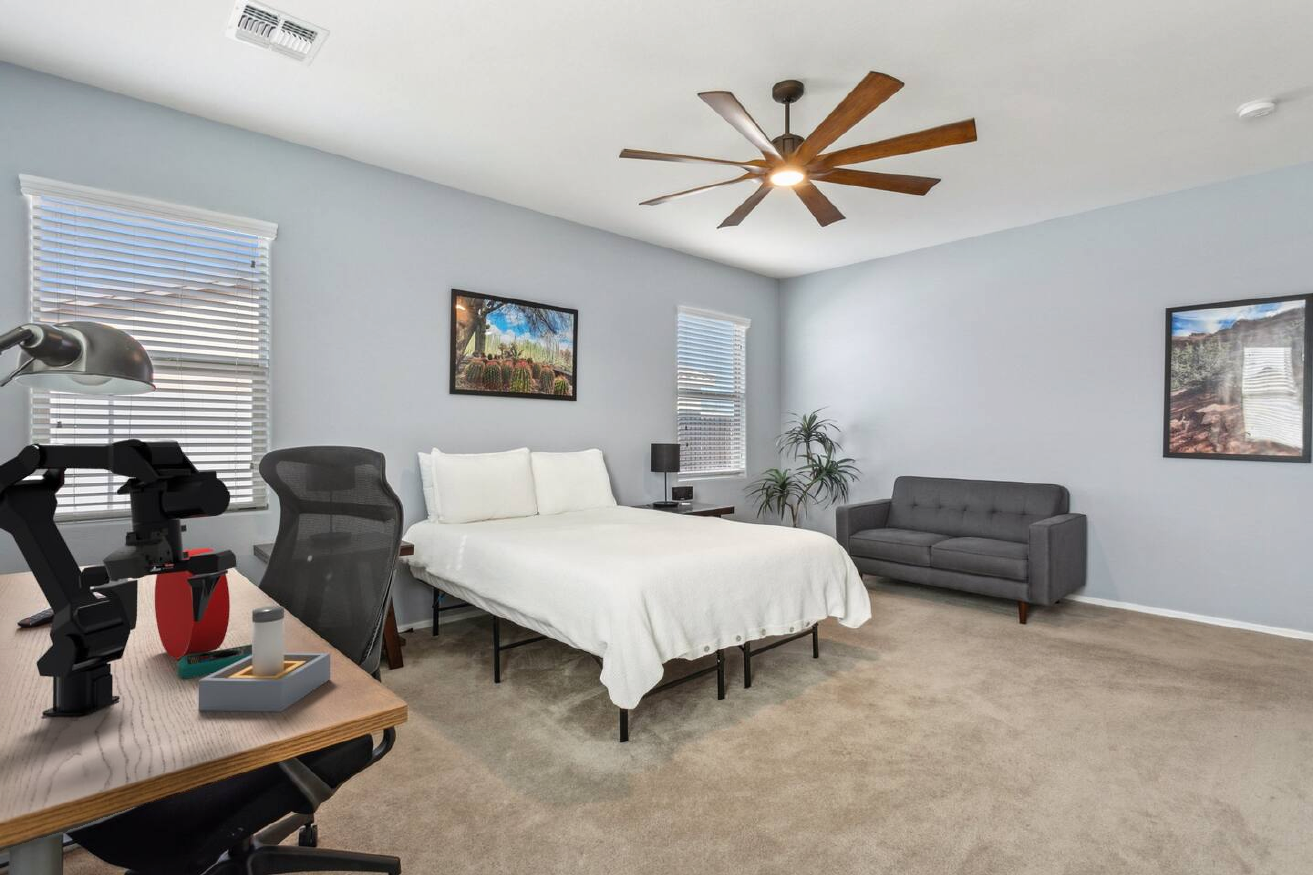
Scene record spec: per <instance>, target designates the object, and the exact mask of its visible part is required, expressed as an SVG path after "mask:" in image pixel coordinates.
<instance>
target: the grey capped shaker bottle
mask: <svg viewBox="0 0 1313 875" xmlns="http://www.w3.org/2000/svg"><path fill="white" fill-rule="evenodd" d="M251 612H252V617H251V618H252V620H251V621H252V622H251V624H252V626H251V627H252V629H251V632H252V634H251V644H252V676H275V675H277V674H278V673H280V672H282V671H284V653H285V607H284V606H281V605H269V606H262V607H258V608H255V609H253V610H252V611H251Z"/></svg>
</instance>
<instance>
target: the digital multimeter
mask: <svg viewBox="0 0 1313 875" xmlns="http://www.w3.org/2000/svg"><path fill="white" fill-rule="evenodd" d="M250 655H252V643H251V644H246V645H241V646H236V647H230V648H223V649H218V650H217V649H216V650H214V651H209V652H204V653H198V654H191V655H185V656H184V657H183V658H179V660H178V662H177V676H178V677H180V678H181V679H183V680H186V679H190V678H191V679H192V678H196V677H202V676H206V675H207V676H209V675H211V674H213V673H215V672H217V671H219V670H221V669H223V668H225V667H227V666H229V665H231V664H233V663H236V662H238V661H240V660H242V659H244V658H246V657H248V656H250Z"/></svg>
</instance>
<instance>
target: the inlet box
mask: <svg viewBox="0 0 1313 875" xmlns="http://www.w3.org/2000/svg"><path fill="white" fill-rule="evenodd" d="M328 680H329V681H331V653H330V652H328V653H327V652H323V653H322V652H284V671H282V672H280V673H278V674H277V675H275V676H252V655H250V656H248V657H246V658H244V659H242V660H240V661H238V662H236V663H233V664H231V665H229V666H227V667H225V668H223V669H221V670H219V671H217V672H215V673H213V674H208V675H207V676H204V677H203V678H201V679H199V680H198V708H197V709H198V711H227V712H228V711H230V712H233V711H234V712H238V711H239V712H280V713H281V712H284V711H285V710H286V709H288V708H289V707H291V706H293V705H294V704H296V703H297V702H298V701H300V700H302V699H303V698H305V697H306V696H307V695H306V694H308V693H309V694H310V692H311V691H312V690H314V689H315V688H317V687H318V686H320V685H321V684H322V683H324V684H325V682H326V681H328ZM329 681H328V682H329ZM326 683H327V682H326ZM321 686H322V685H321ZM321 686H320V687H321ZM318 688H319V687H318ZM318 688H317V689H318ZM315 690H316V689H315ZM315 690H314V691H315ZM312 692H313V691H312ZM312 692H311V693H312ZM309 694H308V695H309ZM305 695H306V696H305ZM304 696H305V697H304ZM302 697H303V698H302ZM301 698H302V699H301ZM292 704H293V705H292Z"/></svg>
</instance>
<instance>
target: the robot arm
mask: <svg viewBox="0 0 1313 875" xmlns="http://www.w3.org/2000/svg"><path fill="white" fill-rule="evenodd" d="M67 469H72V470H74V469H75V470H78V469H79V470H105V471H110V472H111V474H114V475H119V476H121V477H122V476H123V477H126V478H128V479H127V480H126V482H125V483H124V484H122V485H121V486H120V487H119V488H118V489H117V490H116V493H117V495H119V496H120V495H129V500H130V511H131V512H130V513H131V514H130V515H131V524H132V530H131V531H128V532H126V535H125V543H124V545H122V546H121V547H119V548H117V549H115V550H114V551H113V552H111V553H110V554H108V555H107V556H105V557H104V559H103V560H102V561H103V563H100V564H96V565H92V566H88V567H87V566H86V567H84V568H83V569H81V568H80V566H79V565H78V563H77V560H76V559H75V557H74V555H73V554H72V553H73V552H71V549H70V548H69V547H68V544H67V543H66V541H65V539H64V536H62V534H61V531H60V530H59V528H58V526H57V524H56V523H55V520H54V518H55V514H56V511H57V507H58V504H59V503H58V498H57V496H56V494H57V493H58V491H60V489H61V488H62V487H63V486H64V485H65V484H66V482H65V481H66V480H65V475H66V474H65V472H66V471H67ZM38 470H46V471H45V472H44V473H43V474H42V475H38V474H34V473H35V472H36V471H38ZM217 473H218V472H217V471H216V470H206V471H199V469H198V468H197V466H195V465H194V464H193V462H192V461H191V460H190V459H189V457H188V456H187V455H186V453H184V451H183V449H182V447H181V446H180V445H179V442H178V441H177V440H176V439H171V438H130V439H129V438H128V439H124V440H120V441H119V440H118V441H114V442H112V443H110V444H106V445H105V444H104V445H103V444H102V445H100V444H99V445H98V444H97V445H96V444H95V445H94V444H93V445H92V444H90V445H89V444H87V445H86V444H85V445H84V444H80V445H79V444H78V445H77V444H65V443H60V442H59V443H58V442H57V443H49V442H48V443H38V442H35V443H32V444H30V445H26V446H25V447H24V448H22V450H21V451H20V452H19V453H18V454H17V456H15V457H13V458H11V459H9V460H8V461H6V462H4V463H3V464H1V465H0V529H1V530H3V531H5V532H7V533H8V534H10V535H11V537H13V540H14V542H15V543H16V545H17V547H18V549H19V550H20V551H19V552H20V553H21V554H22V557H23V558H24V560H25V561H26V564H27V565H28V568H29V569H30V571H31V573H32V575H33V577H34V579H35V581H36V583H37V584H38V586H39V588H40V590H41V592H42V593H43V595H44V598H45V599H46V600H47V603H48V605H49V607H50V608H51V610H52V612H53V619H52V623H51V626H50V629H49V630H50V631H49V638H50V641H51V643H52V645H50V647H49V648H48V649H47V650H46V651H45V652H44V654H42V656H40V658H39V659H38V660H37V661H36V667H37V671H38V673H39V676H40V677H47V678H48V677H50V678H52V707H51V708H47V709H46V710H43V711H42V713H41V714H42V716H56V717H57V716H58V717H60V716H61V717H81V716H82V717H83V716H85V715H88V714H90V713H92V712H94V711H97V710H99V709H101V708H103V707H105V706H108V705H110V704H112V703H114V702H117V701H119V700H120V699H121V698H120V696H119V695H113V683H114V682H113V681H114V680H113V678H114V677H113V674H112V673H111V672H112V670H111V669H112V664H111V662H114V661H119V660H121V659H122V658H123V656H124V652H125V651H126V646H127V643H128V641H129V638H130V635H131V631H132V630H135V629H136V626H137V621H138V593H139V592H138V586H139V584H138V583H139V582H138V580H139V579H141V578H144V577H146V576H153V575H154V576H155V575H156V576H157V574H165V573H174V572H183V571H188V572H190V573H191V574H192V575H195V576H194V577H191V578H188V579H186V580H187V581H188V583H189V584H190V586H191V588H192V602H193V615H194V620H195V622H199V621H201V620H202V618H203V615H204V613H205V610H206V608H207V605H208V603H209V600H210V598H211V595H212V593H213V591H214V589H215V587H216V585H217V583H218V581H219V579H220V578H221V576H222V575H224V574H226V575H227V574H229V570H230V569H233V568H236V567H237V556H236V555H235V553H234V552H233V551H232V550H231V549H225V550H224V549H223V550H213V552H206V553H202V554H198V555H194V556H190V558H189V554H188V551H185V552H183V550H184V547H183V546H184V545H183V536H182V535H183V533H185V532H187V524H182V522H181V520H188V519H189V520H191V519H201V518H208V517H209V518H210V517H218V516H221V515H222V514H224V513H225V512H226V511H227V510H228V508H229V505H230V502H231V492H230V490H229V489H228V487H227V485H226V484H225V483H224V481H222V480H221V479H219V478H218V474H217ZM185 558H189V559H185ZM165 564H173V565H165ZM170 567H174V568H170ZM165 568H166V569H165ZM129 579H132V580H129ZM94 593H98V594H100V595H101V596H103V597H105V598H106V599H108V600H105V601H104V600H102V599H100V598H98V597H97V596H96V595H95V594H94Z"/></svg>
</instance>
